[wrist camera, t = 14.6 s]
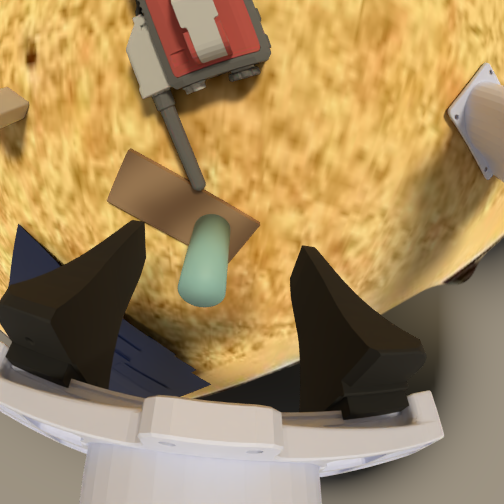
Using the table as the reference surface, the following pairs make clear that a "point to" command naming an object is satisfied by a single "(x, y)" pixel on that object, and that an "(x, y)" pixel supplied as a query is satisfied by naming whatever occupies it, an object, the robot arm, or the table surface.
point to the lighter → (11, 107)
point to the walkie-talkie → (192, 55)
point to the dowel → (206, 262)
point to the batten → (173, 202)
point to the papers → (128, 342)
